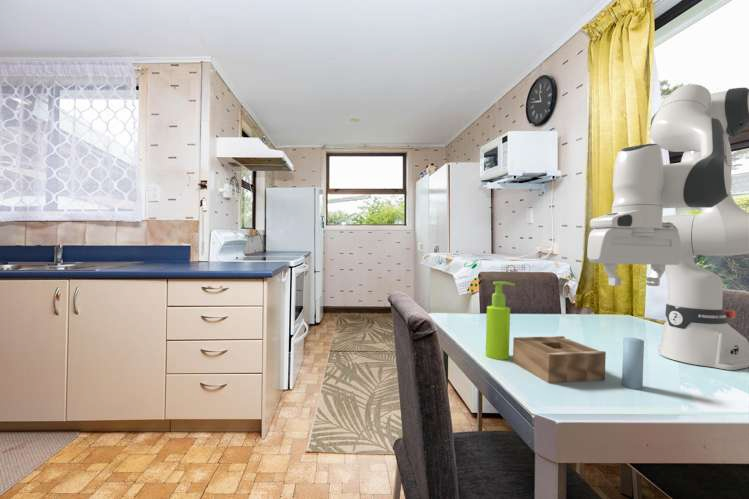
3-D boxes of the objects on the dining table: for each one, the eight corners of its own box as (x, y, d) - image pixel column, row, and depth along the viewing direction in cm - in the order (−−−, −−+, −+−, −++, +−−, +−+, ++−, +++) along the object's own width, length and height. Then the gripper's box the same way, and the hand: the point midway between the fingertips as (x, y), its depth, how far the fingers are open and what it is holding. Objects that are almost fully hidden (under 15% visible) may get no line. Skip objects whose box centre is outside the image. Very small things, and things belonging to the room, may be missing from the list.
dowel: (632, 382, 80) (633, 337, 80) (646, 389, 77) (648, 341, 76) (617, 383, 79) (619, 337, 79) (632, 390, 76) (633, 342, 76)
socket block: (562, 360, 95) (562, 336, 95) (604, 380, 81) (605, 351, 81) (512, 362, 93) (513, 337, 93) (548, 382, 79) (549, 353, 79)
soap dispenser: (514, 360, 94) (516, 283, 94) (486, 358, 95) (488, 282, 95) (511, 354, 100) (512, 281, 99) (484, 352, 101) (486, 280, 101)
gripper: (663, 223, 83) (661, 284, 83) (583, 220, 79) (581, 283, 79) (692, 221, 76) (690, 287, 76) (606, 217, 73) (604, 287, 73)
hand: (633, 285), depth 78 cm, fingers open, 8 cm apart
